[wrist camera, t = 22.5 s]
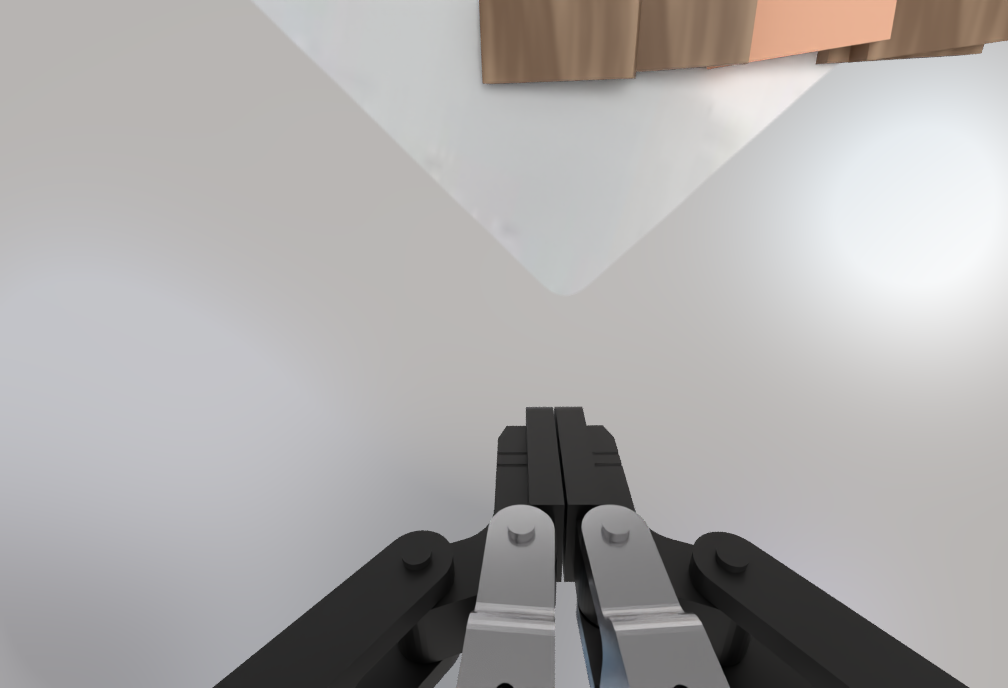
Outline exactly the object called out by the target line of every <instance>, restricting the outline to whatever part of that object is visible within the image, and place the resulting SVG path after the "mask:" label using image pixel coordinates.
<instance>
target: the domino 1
mask: <svg viewBox="0 0 1008 688" xmlns="http://www.w3.org/2000/svg"><path fill="white" fill-rule="evenodd" d="M641 5H642V0H479V9H480V33H481V56H482V80H483V84H501V83H527V82H553V81H580V80H606V79H632V78H636V66H637V53H638V41H639V29H640V17H641Z"/></svg>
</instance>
